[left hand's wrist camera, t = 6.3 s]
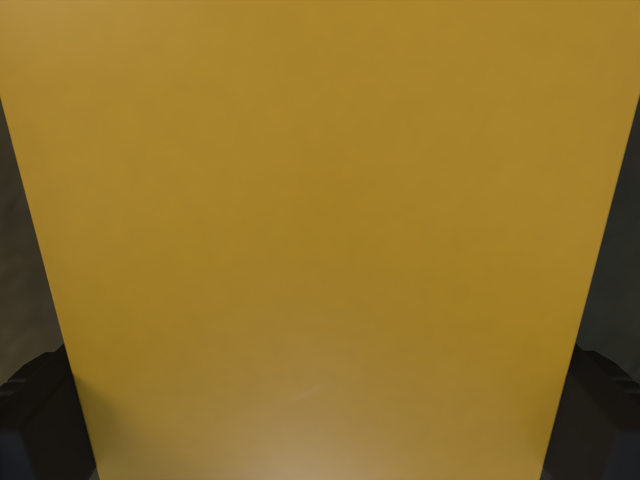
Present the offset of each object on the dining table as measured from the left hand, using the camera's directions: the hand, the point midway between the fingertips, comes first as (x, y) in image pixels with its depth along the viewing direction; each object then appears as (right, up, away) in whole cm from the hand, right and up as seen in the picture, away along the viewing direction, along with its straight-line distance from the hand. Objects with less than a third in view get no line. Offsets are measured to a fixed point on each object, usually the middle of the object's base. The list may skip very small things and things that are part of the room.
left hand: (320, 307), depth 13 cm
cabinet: (0, +7, +3) cm, 8 cm away
